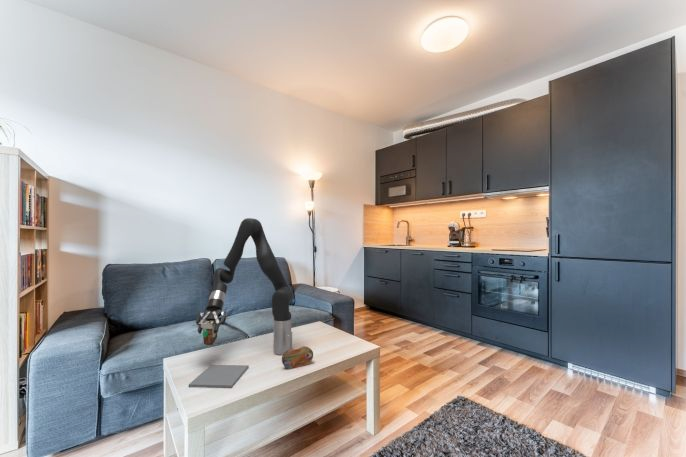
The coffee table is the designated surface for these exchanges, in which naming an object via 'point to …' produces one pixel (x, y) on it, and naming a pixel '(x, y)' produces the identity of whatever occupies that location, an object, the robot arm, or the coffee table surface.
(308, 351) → the tin
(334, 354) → the coffee table surface
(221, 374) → the slate board
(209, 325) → the food container
